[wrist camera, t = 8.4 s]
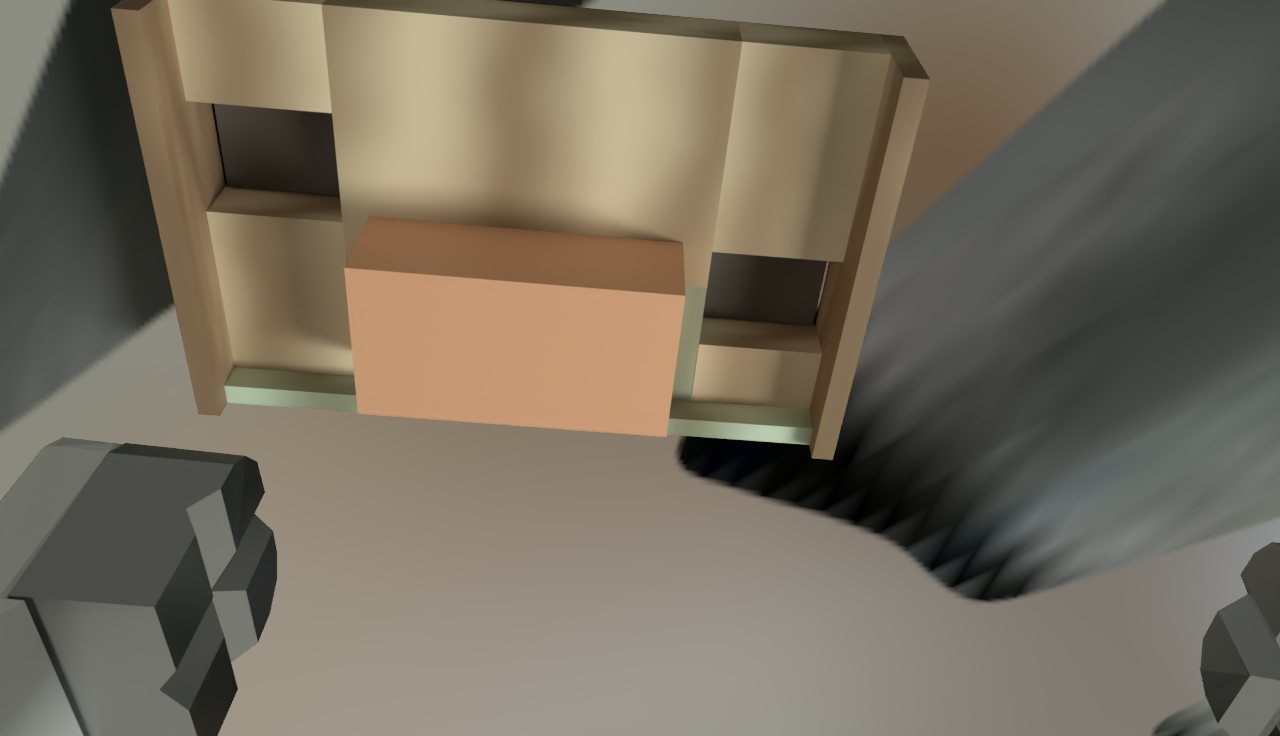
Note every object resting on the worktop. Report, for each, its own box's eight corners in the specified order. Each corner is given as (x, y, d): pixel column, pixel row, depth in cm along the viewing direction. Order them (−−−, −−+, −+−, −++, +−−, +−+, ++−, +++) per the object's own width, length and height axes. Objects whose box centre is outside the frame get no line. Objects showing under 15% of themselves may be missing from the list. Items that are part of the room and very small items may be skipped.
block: (683, 242, 36) (685, 295, 33) (665, 378, 40) (666, 437, 37) (368, 216, 36) (343, 267, 33) (379, 356, 39) (358, 413, 36)
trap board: (904, 36, 34) (930, 79, 30) (819, 396, 42) (832, 459, 39) (164, -30, 33) (110, 8, 29) (234, 352, 41) (198, 414, 38)
